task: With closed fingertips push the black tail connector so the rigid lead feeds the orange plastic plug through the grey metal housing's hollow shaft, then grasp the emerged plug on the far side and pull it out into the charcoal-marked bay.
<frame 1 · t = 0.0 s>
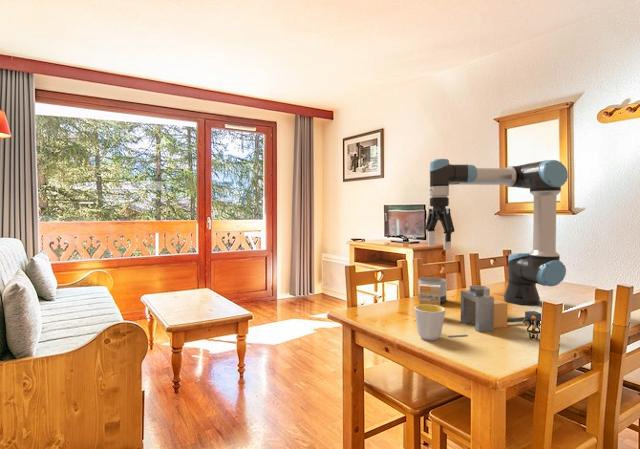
hand: (439, 248, 158), 28 cm above the table, fingers open, 13 cm apart
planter: (432, 301, 183), on the table
mug 2: (430, 336, 133), on the table
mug: (479, 312, 163), on the table
plug: (495, 325, 145), on the table
supplement box: (429, 317, 157), on the table
bay: (445, 328, 141), on the table
housing: (476, 326, 143), on the table
figurine: (533, 339, 129), on the table
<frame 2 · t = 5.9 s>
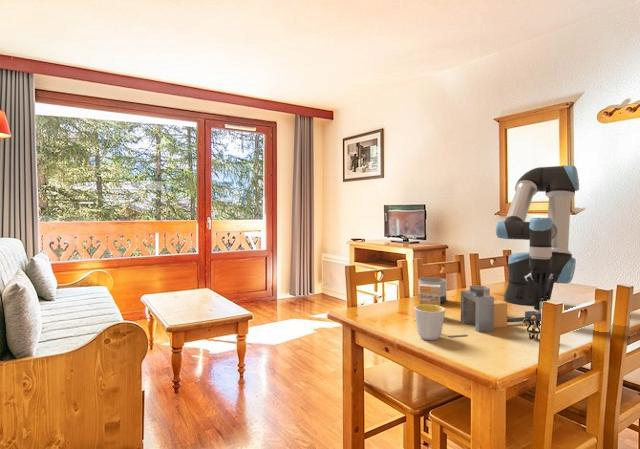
hand: (539, 318, 148), 2 cm above the table, fingers closed
plug: (495, 325, 145), on the table, touching gripper
everything else where it was.
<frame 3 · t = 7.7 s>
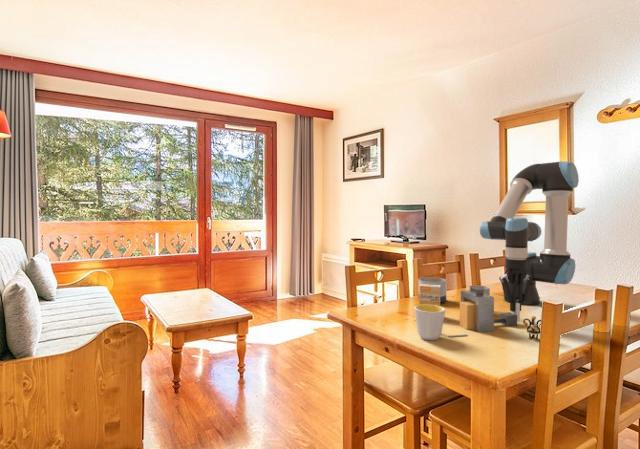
hand: (515, 319, 146), 2 cm above the table, fingers closed
plug: (470, 327, 143), on the table, touching gripper
everything else where it was.
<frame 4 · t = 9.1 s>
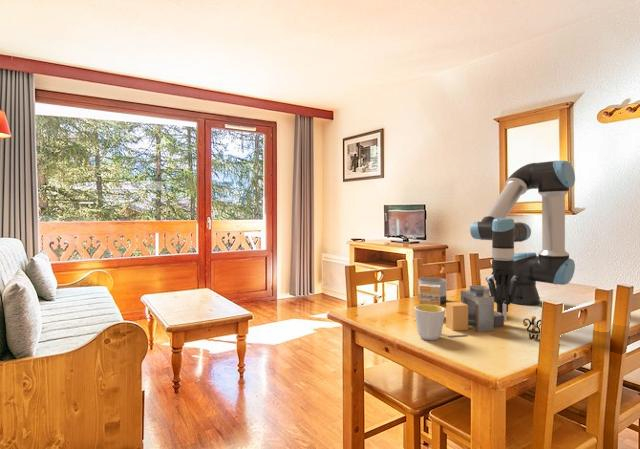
hand: (502, 320, 145), 2 cm above the table, fingers closed
plug: (456, 327, 142), on the table, touching gripper
everything else where it was.
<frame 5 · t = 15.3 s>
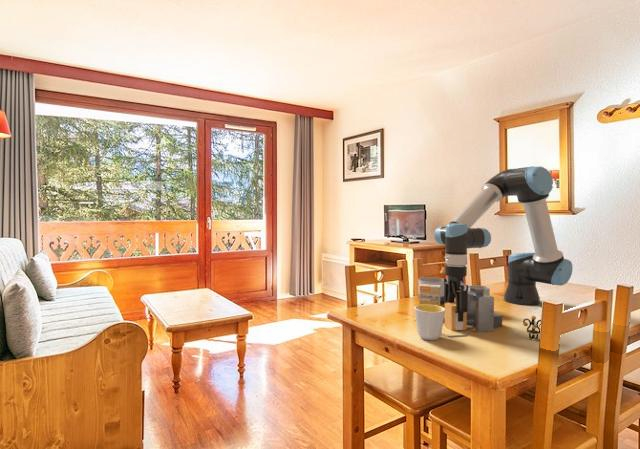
hand: (454, 327, 142), 0 cm above the table, fingers closed on plug, 5 cm apart
plug: (455, 328, 142), on the table, touching gripper
everything else where it was.
when the fingers open (0 cm above the table, at t = 17.4 s): plug stays where it is, on the table.
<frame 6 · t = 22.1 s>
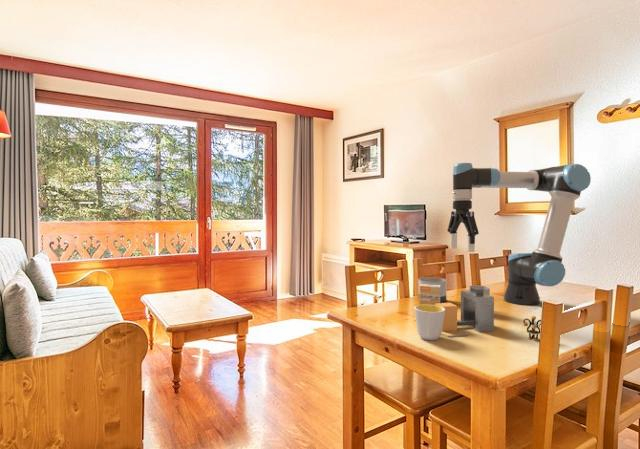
hand: (461, 250, 162), 27 cm above the table, fingers open, 13 cm apart
plug: (446, 328, 141), on the table
everything else where it was.
at the end: plug inside the target area (0.7 cm from its centre), on the table; the gripper is holding nothing; plug tilted 0° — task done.
